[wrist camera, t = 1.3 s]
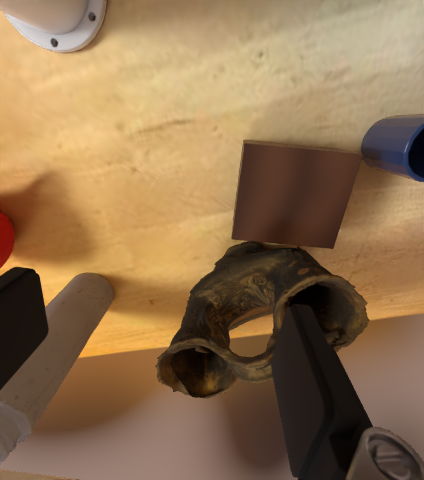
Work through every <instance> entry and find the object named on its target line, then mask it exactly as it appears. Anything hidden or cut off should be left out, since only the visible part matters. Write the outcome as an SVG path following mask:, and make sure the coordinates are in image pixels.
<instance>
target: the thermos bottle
mask: <svg viewBox="0 0 424 480" xmlns="http://www.w3.org/2000/svg"><path fill="white" fill-rule="evenodd" d="M113 299H114V291H113V288H112V286H111V285H110V283H109V282H108V281H107V280H106V279H104V278H103V277H101V276H99V275H97V274H93V273H82V274H79V275H77V276H76V277H74V278H73V279H72V280H71V281H70V282H69V283H68V284H67V285H66V287H65V288H64V289H63V290H62V291H61V292H60V293H59V294H58V295H57V296H56V297H55V298H54V299H53V300H52V301H51V302H50V303H49V304H48V305H47V306H46V307H45V311H46V316H47V322H48V328H49V331H48V335H47V337H46V338H45V340H44V341H43V342H42V343H41V344H40V345H39V347H38V348H37V349H36V350H35V351H34V352H33V353H32V355H31V356H30V357H29V358H28V359H27V360H26V361H25V363H24V364H23V365H22V366H21V367H20V368H19V370H18V371H17V372H16V373H15V374H14V375H13V376H12V378H11V379H10V380H9V381H8V382H7V383H6V385H5V386H4V387H3V388H2V389H1V390H0V464H1V463H3V462H4V461H5V460H6V458H7V457H8V455H9V454H10V452H12V451H13V450H14V449H15V447H16V445H17V443H20V442H22V441H24V440H25V439H26V438H28V437H29V435H30V433H31V432H32V430H33V429H34V427H35V425H36V424H37V422H38V421H39V419H40V417H41V416H42V414H43V413H44V411H45V409H46V408H47V406H48V404H49V403H50V401H51V400H52V398H53V396H54V395H55V393H56V392H57V390H58V388H59V387H60V385H61V384H62V382H63V380H64V379H65V377H66V376H67V374H68V372H69V371H70V369H71V368H72V366H73V364H74V363H75V361H76V359H77V358H78V356H79V355H80V353H81V351H82V350H83V348H84V346H85V345H86V343H87V341H88V339H89V337H90V336H91V334H92V333H93V331H94V330H95V329H96V327H97V326H98V324H99V322H100V321H101V319H102V318H103V316H104V314H105V313H106V311H107V310H108V308H109V306H110V305H111V303H112V301H113Z"/></svg>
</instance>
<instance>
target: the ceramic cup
mask: <svg viewBox="0 0 424 480" xmlns="http://www.w3.org/2000/svg"><path fill="white" fill-rule="evenodd" d="M13 246H14V228H13V225H12V223H11V221H10V220H9V218H8V217H7V216H6V215H5V214H4V213H2V212H1V211H0V268H1V267H2V266H3V265H4V264H5V263H6V261H7V260H8V258H9V256H10V255H11V253H12V250H13Z"/></svg>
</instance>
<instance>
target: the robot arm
mask: <svg viewBox="0 0 424 480" xmlns="http://www.w3.org/2000/svg"><path fill="white" fill-rule="evenodd" d="M106 5H107V0H0V10H1V11H3V12H4V14H5V16H6V17H7V18H8V20H9V21H10V22H11V24H12V25H13V26H14V27H15V28H16V29H17V30H18V31H19V32H20V33H21V34H22V35H23V36H24V37H25V38H27V39H28V40H29V41H31V42H32V43H34V44H36V45H38V46H40V47H42V48H44V49H47V50H50V51H52V52H59V53H69V52H74V51H77V50H80V49H82V48H83V47H85V46H86V45H88V44H89V43H90V42H91V41H92V40H93V39H94V38H95V36H96V35H97V33H98V31H99V30H100V28H101V25H102V22H103V19H104V17H105V11H106ZM95 17H96V20H95V21H94V18H95ZM57 43H58V46H57ZM48 331H49V328H48V322H47V316H46V311H45V305H44V299H43V294H42V288H41V282H40V277H39V275H38V274H37V273H36V272H35V270H34V269H30V268H22V267H14V268H12V269H10V270H9V271H7V272H5V273H4V274H2V275H1V276H0V390H1V389H2V388H3V387H4V386H5V385H6V383H7V382H8V381H9V380H10V379H11V378H12V376H13V375H14V374H15V373H16V372H17V371H18V370H19V368H20V367H21V366H22V365H23V364H24V363H25V361H26V360H27V359H28V358H29V357H30V356H31V355H32V353H33V352H34V351H35V350H36V349H37V348H38V347H39V345H40V344H41V343H42V342H43V341H44V340H45V338H46V337H47V335H48ZM271 370H272V375H273V380H274V385H275V390H276V396H277V401H278V406H279V411H280V417H281V421H282V426H283V432H284V437H285V442H286V448H287V453H288V458H289V463H290V469H291V472H292V475H293V476H294V477H298V480H424V462H423V460H422V458H421V457H420V456H419V454H418V453H417V452H416V451H415V450H414V449H413V448H412V447H411V445H409V444H408V443H407V442H406V441H405V440H403V439H402V438H401V437H400V436H398V435H396V434H395V433H393V432H391V431H390V430H387V429H384V428H380V427H373V425H372V424H371V421H370V420H369V417H368V415H367V413H366V411H365V410H364V407H363V405H362V403H361V401H360V399H359V398H358V395H357V393H356V391H355V390H354V388H353V385H352V383H351V381H350V380H349V377H348V375H347V373H346V371H345V369H344V367H343V365H342V363H341V361H340V359H339V357H338V355H337V353H336V351H335V350H334V348H333V347H332V346H331V345H329V344H328V342H327V340H326V338H325V336H324V334H323V332H322V330H321V328H320V326H319V324H318V321H317V319H316V317H315V315H314V313H313V311H312V309H311V307H310V306H308V305H301V304H293V305H292V306H291V307H287V309H286V312H285V315H284V318H283V322H282V325H281V328H280V332H279V335H278V339H277V342H276V345H275V349H274V352H273V355H272V359H271ZM0 480H78V479H71V478H62V477H55V476H47V475H39V474H32V473H24V472H16V471H9V470H1V469H0Z"/></svg>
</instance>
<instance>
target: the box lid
mask: <svg viewBox="0 0 424 480" xmlns="http://www.w3.org/2000/svg"><path fill="white" fill-rule="evenodd" d="M362 156H363V154H359V153H348V152H338V151H327V150H317V149H306V148H296V147H285V146H274V145H264V144H253V143H244V144H243V151H242V159H241V167H240V175H239V182H238V190H237V198H236V206H235V214H234V221H233V229H232V239H234V240H245V241H255V242H266V243H277V244H288V245H298V246H309V247H320V248H330V249H333V248H334V245H335V242H336V238H337V235H338V232H339V229H340V226H341V223H342V220H343V216H344V213H345V210H346V207H347V204H348V201H349V197H350V194H351V191H352V188H353V185H354V182H355V178H356V175H357V172H358V169H359V166H360V163H361V160H362Z"/></svg>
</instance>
